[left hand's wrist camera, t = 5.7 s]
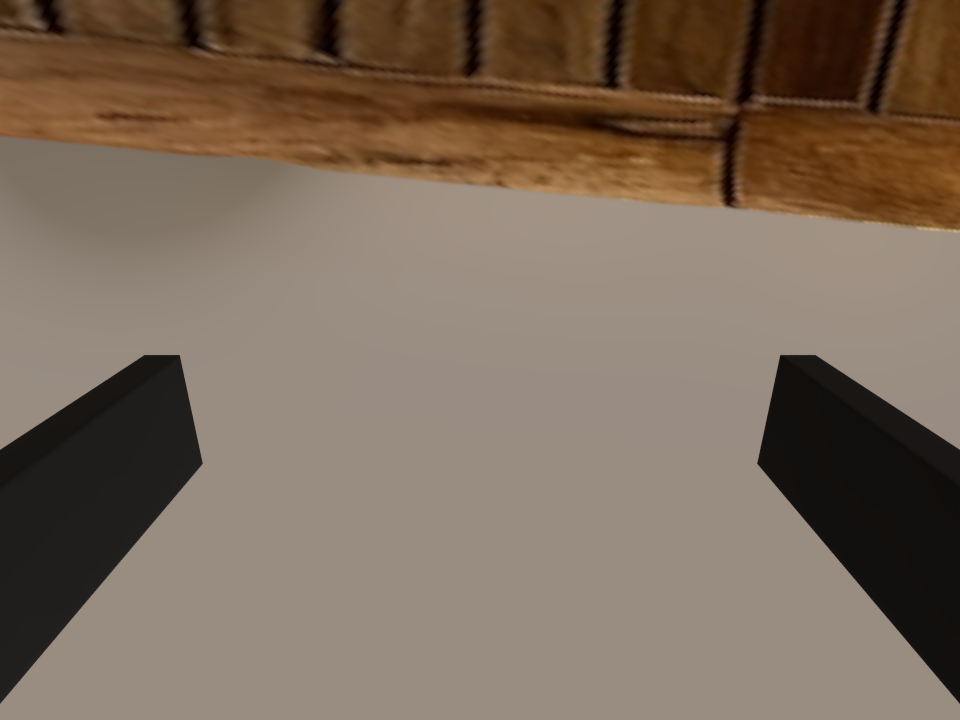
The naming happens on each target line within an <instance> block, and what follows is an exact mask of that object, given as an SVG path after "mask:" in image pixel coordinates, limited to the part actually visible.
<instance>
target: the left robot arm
mask: <svg viewBox="0 0 960 720" xmlns="http://www.w3.org/2000/svg"><path fill="white" fill-rule="evenodd" d="M202 464H203V463H202V458H201V454H200V449H199V444H198V439H197V435H196V430H195V425H194V420H193V416H192V411H191V406H190V402H189V397H188V392H187V388H186V383H185V378H184V373H183V369H182V364H181V359H180V355H144V356H143V357H141V358H140V359H138V360H137V361H135V362H133V363H132V364H130V365H129V366H127V367H126V368H124V369H123V370H121V371H120V372H118V373H117V374H115V375H114V376H112V377H111V378H109V379H108V380H106V381H105V382H103V383H101V384H100V385H98V386H97V387H95V388H94V389H92V390H91V391H89V392H88V393H86V394H85V395H83V396H82V397H80V398H79V399H77V400H75V401H74V402H72V403H71V404H69V405H68V406H66V407H65V408H63V409H62V410H60V411H59V412H57V413H56V414H54V415H53V416H51V417H50V418H48V419H46V420H45V421H43V422H42V423H40V424H39V425H37V426H36V427H34V428H33V429H31V430H30V431H28V432H27V433H25V434H24V435H22V436H21V437H19V438H17V439H16V440H14V441H13V442H11V443H10V444H8V445H7V446H5V447H4V448H2V449H1V450H0V703H1V702H2V701H3V700H4V698H5V697H6V696H7V695H8V694H9V693H10V691H11V690H12V689H13V688H14V687H15V685H16V684H17V683H18V682H19V681H20V680H21V678H22V677H23V676H24V675H25V674H26V672H27V671H28V670H29V669H30V668H31V667H32V665H33V664H34V663H35V662H36V661H37V659H38V658H39V657H40V656H41V655H42V653H43V652H44V651H45V650H46V649H47V648H48V646H49V645H50V644H51V643H52V642H53V640H54V639H55V638H56V637H57V636H58V634H59V633H60V632H61V631H62V630H63V629H64V627H65V626H66V625H67V624H68V623H69V621H70V620H71V619H72V618H73V617H74V616H75V614H76V613H77V612H78V611H79V610H80V608H81V607H82V606H83V605H84V604H85V603H86V601H87V600H88V599H89V598H90V597H91V595H92V594H93V593H94V592H95V591H96V590H97V588H98V587H99V586H100V585H101V584H102V582H103V581H104V580H105V579H106V578H107V576H108V575H109V574H110V573H111V572H112V571H113V569H114V568H115V567H116V566H117V565H118V563H119V562H120V561H121V560H122V559H123V558H124V556H125V555H126V554H127V553H128V552H129V550H130V549H131V548H132V547H133V546H134V544H135V543H136V542H137V541H138V540H139V539H140V537H141V536H142V535H143V534H144V533H145V531H146V530H147V529H148V528H149V527H150V525H151V524H152V523H153V522H154V521H155V520H156V518H157V517H158V516H159V515H160V514H161V513H162V511H163V510H164V509H165V508H166V507H167V505H168V504H169V503H170V502H171V501H172V499H173V498H174V497H175V496H176V495H177V494H178V492H179V491H180V490H181V489H182V488H183V486H184V485H185V484H186V483H187V482H188V481H189V479H190V478H191V477H192V476H193V475H194V473H195V472H196V471H197V470H198V469H199V468H200V466H201V465H202ZM757 464H758V465H759V466H760V468H761V469H762V470H763V471H764V472H765V473H766V474H767V476H768V477H769V478H770V479H771V481H772V482H773V483H774V484H775V485H776V486H777V488H778V489H779V490H780V491H781V492H782V494H783V495H784V496H785V497H786V498H787V500H788V501H789V502H790V503H791V504H792V505H793V507H794V508H795V509H796V510H797V511H798V513H799V514H800V515H801V516H802V517H803V518H804V520H805V521H806V522H807V523H808V524H809V526H810V527H811V528H812V529H813V530H814V531H815V533H816V534H817V535H818V536H819V537H820V539H821V540H822V541H823V542H824V543H825V545H826V546H827V547H828V548H829V549H830V550H831V552H832V553H833V554H834V555H835V556H836V558H837V559H838V560H839V561H840V562H841V563H842V565H843V566H844V567H845V568H846V569H847V571H848V572H849V573H850V574H851V575H852V576H853V578H854V579H855V580H856V581H857V582H858V584H859V585H860V586H861V587H862V588H863V589H864V591H865V592H866V593H867V594H868V595H869V597H870V598H871V599H872V600H873V601H874V603H875V604H876V605H877V606H878V607H879V608H880V610H881V611H882V612H883V613H884V614H885V616H886V617H887V618H888V619H889V620H890V621H891V623H892V624H893V625H894V626H895V627H896V629H897V630H898V631H899V632H900V633H901V635H902V636H903V637H904V638H905V639H906V640H907V642H908V643H909V644H910V645H911V646H912V648H913V649H914V650H915V651H916V652H917V653H918V655H919V656H920V657H921V658H922V659H923V661H924V662H925V663H926V664H927V665H928V667H929V668H930V669H931V670H932V671H933V672H934V674H935V675H936V676H937V677H938V678H939V680H940V681H941V682H942V683H943V684H944V685H945V687H946V688H947V689H948V690H949V691H950V693H951V694H952V695H953V696H954V697H955V698H956V700H957V701H958V702H959V703H960V450H959V449H958V448H956V447H955V446H953V445H952V444H950V443H949V442H947V441H946V440H944V439H942V438H941V437H939V436H938V435H936V434H935V433H933V432H932V431H930V430H929V429H927V428H926V427H924V426H923V425H921V424H920V423H918V422H917V421H915V420H914V419H912V418H910V417H909V416H907V415H906V414H904V413H903V412H901V411H900V410H898V409H897V408H895V407H894V406H892V405H891V404H889V403H888V402H886V401H885V400H883V399H881V398H880V397H878V396H877V395H875V394H874V393H872V392H871V391H869V390H868V389H866V388H865V387H863V386H862V385H860V384H859V383H857V382H855V381H854V380H852V379H851V378H849V377H848V376H846V375H845V374H843V373H842V372H840V371H839V370H837V369H836V368H834V367H833V366H831V365H830V364H828V363H827V362H825V361H824V360H822V359H820V358H819V357H817V356H816V355H780V359H779V364H778V369H777V373H776V378H775V383H774V387H773V392H772V397H771V402H770V406H769V411H768V416H767V421H766V425H765V430H764V435H763V440H762V444H761V449H760V453H759V458H758V463H757Z"/></svg>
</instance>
